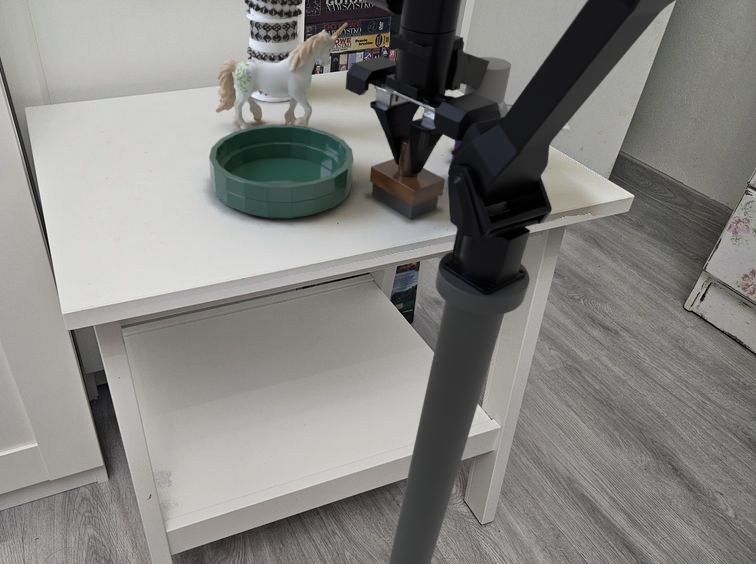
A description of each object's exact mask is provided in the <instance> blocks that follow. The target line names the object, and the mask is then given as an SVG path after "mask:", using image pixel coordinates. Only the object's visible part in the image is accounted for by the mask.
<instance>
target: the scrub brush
mask: <svg viewBox="0 0 756 564" xmlns="http://www.w3.org/2000/svg"><path fill="white" fill-rule="evenodd" d="M369 182H370V183H372V187H371V188H372V189H371V191H372V192H371V197H373V199H375V200H377V201H379V202H380V203H382V204H383V205H385V206H386V207H388V208H390V209H392V210H393V211H395V212H397V213H398V214H400V215H402V216H403V217H405V218H407V219H408V220H413V219H415V218H418V217H420V216H424V215H425V214H428V213H431V212H433V211H436V210H437V207H438V202H439V197H440V196H441V197H442V196H443V194H444V190H445V184H446V178H443V177H441V176H440V175H438V174H436V173H434V172H432V171H430V170H428V169H426V168H425V167H423V169H422V171H421V172H420V173H417V174H413V173H412V169H411V162H410V140H409V136H408V137H404V138H403V139H402V142H401V150H400V157H399V165H397V164H396V163H395V160H394V158H392V159H389V160H386V161H383V162H379V163H377V164H373V165H371V166H370V173H369Z"/></svg>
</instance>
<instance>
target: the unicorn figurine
mask: <svg viewBox="0 0 756 564" xmlns="http://www.w3.org/2000/svg"><path fill="white" fill-rule="evenodd" d="M347 26H349V25H348V22H345V23H343V24H342V25H341V26H340V27H339V28H338V29H337V30H336V31H335V32H334V33H333V34H331V35H330V33H328V32H327V31H326V29H323V30H322V31H320V32H319V33H317V34H314V35H312V36H309V38H307V39H306V40H305V41H304V42H300V43H299V44H298V46H297V47H296V49H294V50H293V51H292V52H291V53H290V54H289V56H288V58H287V59H284V60H282V61H280V62H279V63H270V62H264V61H260V60H256V59H249V60H248V59H246V60H243V61H241V62H237V61H236V60H235V59H232V58H228V59H226V60H225V61H224V62H223V63H222V65H220V67H219V68H218V71H219V73H218V75H217V80H218V86H219V87H220V88H219V89H218V90H217V93H218V96H220V99H219V102H220V103H219V105H218V108H216V109H215V112H216V113H217V114H218V113H221V112H223V111H230V110H231V109H232V108H233V107H234V113H235V114H234V115H233V117H232V118H233V120H232V124H233V126H235V128H236V129H239V128H240V130H243V129H247V128H251V126H250V124H249V123H247V122H246V121H245V120H244V117H243V107H244V105H245V103H248V105H249V111H250V113H251V114H252V116H253V120H254V121H255V122H256V124H261V123H262V117H263V110H262V107H261V105H259V104H258V103H257V102H256V100H255V99H254V98H253V97H252V96H251V95H252V94H253V93H254V92H255V91H262V92H264V93H266V94H268V95H271V96H277V97H283V96H289V95H290V96H291V100H289V107H288V109H287V110H286V112H285V113H284V121H285V122H284V125H289V124H290V125H297V126H304V127H308V125H309V121H310V119H311V116H312V114H313V108H312V106H311V103H310V102H309V100H308V98H307V96H306V94H307V92H308V91H309V90H310V88H311V85H312V79H313V74H312V73H313V71H314V67H315V65H316V62H317V60H318V59H319V66H321V67H327V66H329V65H330V64H331V62H332V60H331V58H330V54H331V51H332V50H333V47H335V46H336V41H337V39H338V37H339V35H341V33H342V32H343V31H344V30H345V28H347ZM233 73H234V75H233ZM235 86H236V87H235ZM236 88H237V90H238V97H237V90H236ZM298 104H299V105H300V106H301V107H302V108H303V111H304V112H303V116H299V117H296V116H295V110H296V107H297V105H298Z"/></svg>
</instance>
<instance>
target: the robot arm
mask: <svg viewBox="0 0 756 564" xmlns="http://www.w3.org/2000/svg"><path fill="white" fill-rule="evenodd" d="M363 1H364V2H366V3H368V4H371V5H372V6H375V7H377V8H379V9H382V10H385V11H386V12H389V13H391V14H394V15H397V16H398V15H399V16H400V15H401V17H400V25H399V33H395V34H391V35H390V38H389V40H390V41H389V47H391V48H395V49H397V52H396V61H395V60H392V59H390V58H387V57H384V56H377V57H373V58H369V59H365V60H360V61H356V62H353V63H352V64H351V66H350V67H349V69H348V70H347V71H346V77H345V78H346V79H345V90H347V91H350V92H351V93H353V94H356V95H358V96H362V95H363V96H364V95H365V94H366V93H367V92H368V91H369V88H370V85H372V86H374V87H373V88H374V89H375V100H372V101H370V103H369V107H370V108H371V109H373V110H374V112H375V115H376V117H377V119H378V122H379V124H380V126H381V129H382V131H383V133H384V135H385V138H386V141H387V144H388V146H389V149H390V151H391V154H392V158H393V159H394V160H395V163H396V164H397V165H399V157H400V150H401V142H402V139H403V138H404V137H408V136H409V140H410V162H411V169H412V173H413V174H417V173H420V172H421V171H422V169H423V168H425V166H426V164H427V162H428V160H429V158H430V157H431V155H432V152H433V151H434V149H435V148H436V146H437V144H438V142H439V141H440V139H441V138H442V137H443V136H445V137H448V138H449V139H451V140H454V141H455V140H456V141H462V142H461V144H460V145H459V146H458V147H457V148H456V149H454V148H453V149H452V150H451V151H450V153H451V155H454V156H455V157H454V159H453V160H452V159H451V161H452V162H451V161H450V164H449V167H448V171H447V175H448V176H447V190H448V191H447V192H448V209H449V211H448V212H449V221H450V223H451V224H452V225H454V226H455V228H456V233H455V236H454V242H453V247H452V250H451V252H452V257H454V259H451V260H449V261H447V262H445V263H444V264H443V269H445V270H446V271H448V272H449V273H451V274H452V275H454V276H456V277H457V278H459V279H460V280H462V281H463V282H465V283H466V284H468V285H469V286H471V287H473V288H474V289H476V290H477V291H479V292H480V293H482V294H484V295H490V294H492V293H494V292H496V291H498V290H500V289H502V288H504V287H506V286H508V285H510V284H512V283H514V282H516V281H518V280H520V279H522V278H524V277H525V275H526V271H525V270H523V269H521V268H519V267H520V264H522V260H523V256H524V254H525V249H526V247H527V246H526V245H527V243H528V240H529V237H530V233H531V230H530V229H529V228H528V227H530V226H534V225H536V224H537V225H540V224H543V223H544V222H545V220H546V219H547V217H548V216H549V215H550V214H551V212H552V211H553V207H552V204H551V202H550V197H549V195H548V193H547V190H546V187H545V184H544V182H543V178H542V175H543V173H544V172H545V170H546V168H547V166H548V165H549V164H548V163H549V156H550V155H549V154H550V145H551V143H552V142H553V140H554V139H556V137H557V136H558V134H559V133H561V131H562V130H563V128H564V127H565V126H566V125H567V124H568V122H569V121H570V120H571V119H572V118H573V117H574V115H575V114H576V113H577V112H578V111H579V109H580V108H581V107H582V106H583V105H584V104H585V102H586V101H587V100H588V99H589V98H590V96H591V95H592V94H593V93H594V92H595V90H596V89H597V88H598V87H599V86H600V85H601V84H602V82H603V81H604V80H605V79H606V77H607V76H608V75H609V74H610V73H611V71H612V70H613V69H614V68H615V67H616V66H617V64H618V63H619V62H620V61H621V59H622V58H624V56H625V55H626V53H627V52H628V51H629V50H630V49H631V48H632V46H634V44H635V43H636V42H637V41H638V40H639V38H640V37H641V36H642V35H643V33H644V32H645V31H646V30H647V28H648V27H649V26H650V25H651V24H652V23H653V22H654V21H655V19H656V18H658V16H659V14H660V13H662V11H664V10H665V9H666V8H667V7H668V6H670V5H671V4H672V3H674V2H676V0H586V2H585V3H584V4H583V5H582V7H581V8H580V10H579V11H578V13H577V14H576V16H575V17H574V18H573V20H572V21H571V23H570V24H569V25H568V26H567V28H566V30H565V31H564V32H563V34H562V35H561V37H560V38H559V40H558V41H557V42H556V44H555V45H554V46H553V48H552V49H551V50H550V51H549V53H548V55H547V56H546V58H544V60H543V62H542V64H540V66H539V68H538V69H537V70H536V72H535V73H534V75H533V76H532V77H531V79H530V80H529V81H528V83H527V84H526V86H525V87H524V89H523V90H522V91H521V93H520V94H519V95H518V97H517V99H516V100H515V101H514V103H513V104H512V105H511V106H510V108H509V109H508V112H507V114H506V115H505V117H501V109H500V107H499V105H498V103H497V102H495V101H492V100H490V99H487V98H485V97H482V96H480V95H477V94H475V93H469V94H466V95H464V94H463V95H459V96H452V95H446V91H451V92H454V91H457V90H460V89H461V85H465V86H466V85H468V86H471V88H473V89H475V90H478V89H479V86H480V84H481V81H482V79H483V76H484V74H485V72H486V69H487V67H488V64H489V62H490V61H487V60H485V59H482V58H479V56H476V55H473V54H470V53H467V52H465V51H464V48H465V41H464V37H462V36H459V35H457V29H458V22H459V18H460V17H459V16H460V10H461V6H462V0H363ZM463 51H464V52H463ZM420 107H421V108H423V109H424V111H423V113H422V117H420V118H417V119H414V117H415V115H416V113H417V112H418V111H419V109H420Z"/></svg>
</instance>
